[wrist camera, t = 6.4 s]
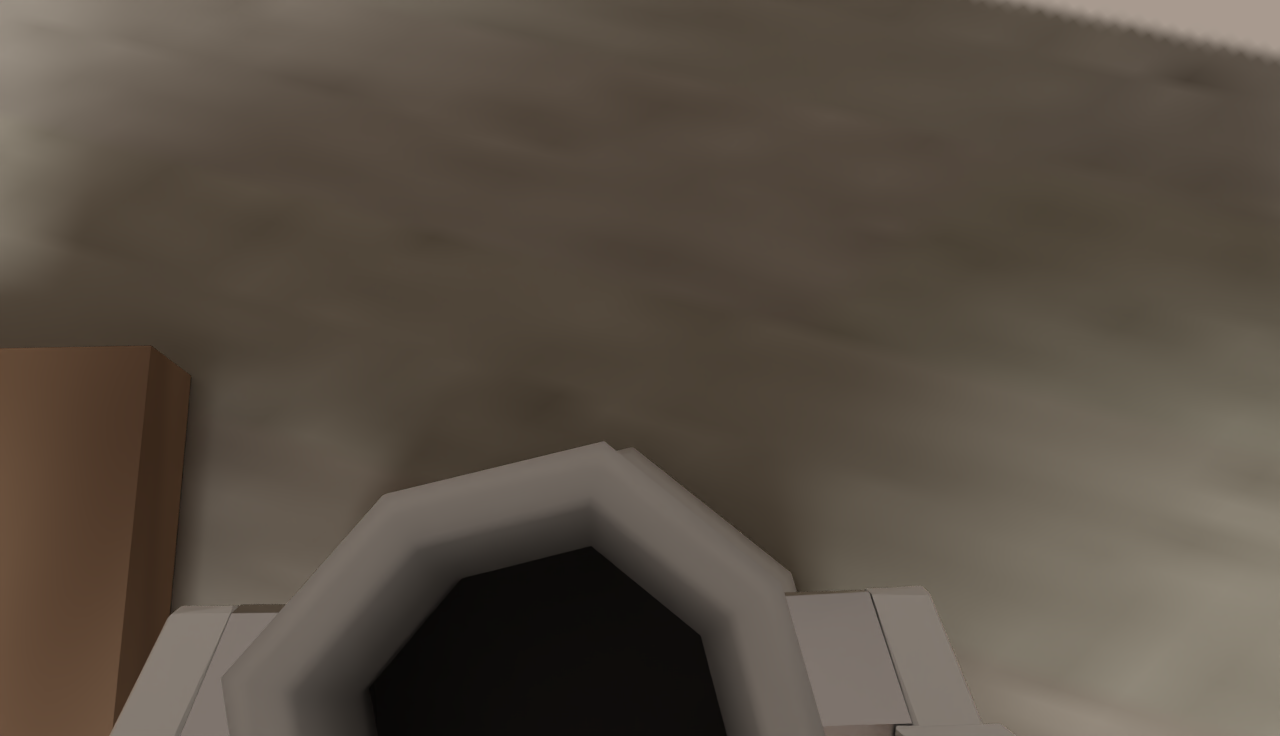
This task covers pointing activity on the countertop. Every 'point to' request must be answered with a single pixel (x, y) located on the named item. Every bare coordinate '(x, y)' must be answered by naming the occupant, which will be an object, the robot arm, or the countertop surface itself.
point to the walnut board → (85, 529)
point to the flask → (534, 616)
